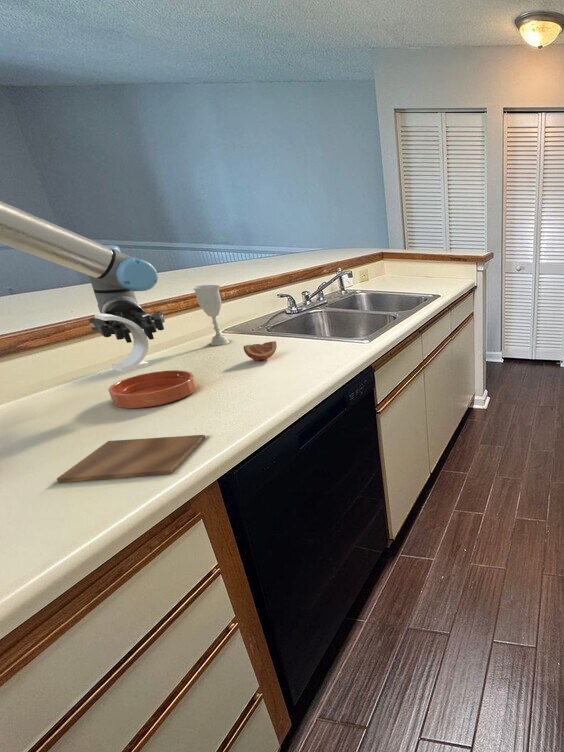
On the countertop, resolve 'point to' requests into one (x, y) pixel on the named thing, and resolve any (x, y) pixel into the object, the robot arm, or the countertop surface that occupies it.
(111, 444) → the wooden board
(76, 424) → the countertop surface
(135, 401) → the bowl
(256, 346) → the fruit slice
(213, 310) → the chalice
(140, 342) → the headphone stand
